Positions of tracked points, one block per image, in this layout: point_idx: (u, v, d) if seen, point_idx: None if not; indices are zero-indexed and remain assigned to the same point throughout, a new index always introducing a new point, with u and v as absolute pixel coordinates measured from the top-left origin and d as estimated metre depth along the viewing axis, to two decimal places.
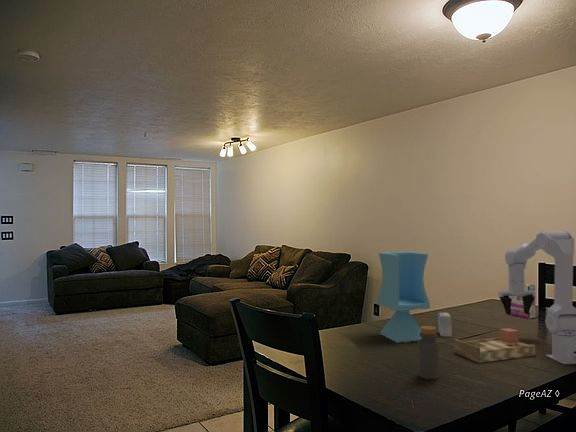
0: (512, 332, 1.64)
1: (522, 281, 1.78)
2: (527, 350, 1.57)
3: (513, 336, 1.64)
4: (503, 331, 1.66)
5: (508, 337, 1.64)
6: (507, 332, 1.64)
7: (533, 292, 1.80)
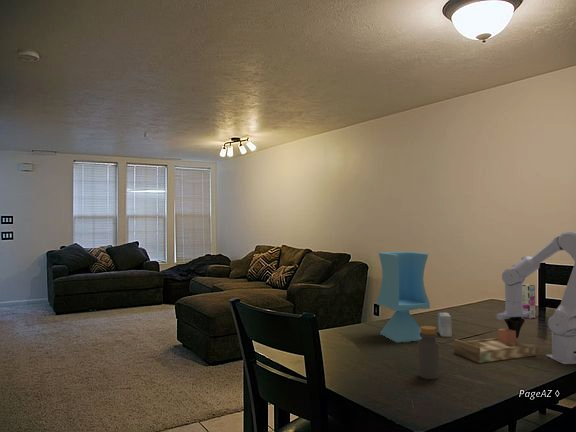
0: (510, 332, 1.64)
1: (521, 302, 1.65)
2: (527, 350, 1.57)
3: (510, 336, 1.64)
4: (501, 331, 1.66)
5: (506, 337, 1.63)
6: (505, 332, 1.64)
7: (529, 313, 1.68)
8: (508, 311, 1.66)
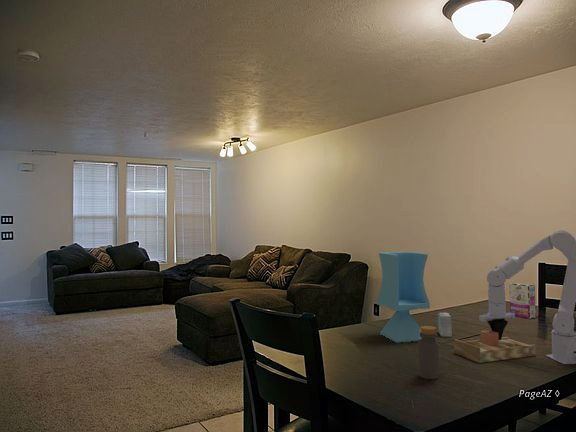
0: (492, 334, 1.61)
1: (504, 303, 1.62)
2: (527, 350, 1.57)
3: (493, 338, 1.61)
4: (483, 333, 1.63)
5: (488, 339, 1.61)
6: (487, 334, 1.61)
7: (512, 315, 1.65)
8: (491, 313, 1.63)
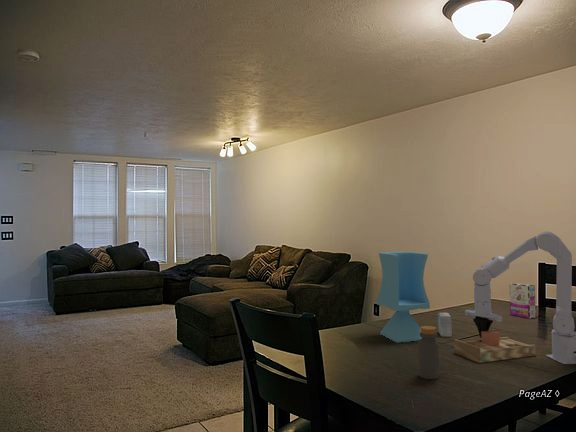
0: (493, 335, 1.60)
1: (479, 302, 1.65)
2: (527, 350, 1.57)
3: (494, 339, 1.60)
4: (484, 334, 1.62)
5: (489, 340, 1.60)
6: (488, 335, 1.61)
7: (495, 318, 1.60)
8: None
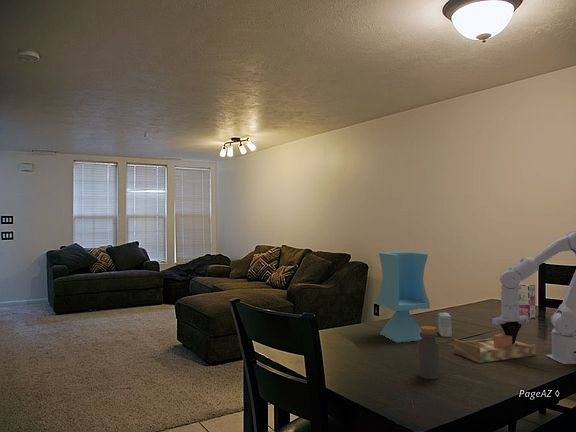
0: (507, 338, 1.55)
1: (518, 306, 1.57)
2: (527, 350, 1.57)
3: (507, 342, 1.55)
4: (497, 337, 1.57)
5: (503, 344, 1.55)
6: (502, 338, 1.55)
7: (526, 318, 1.60)
8: (504, 315, 1.58)
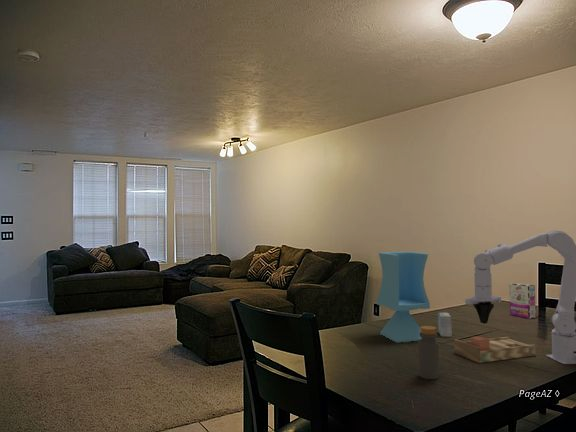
0: (483, 340, 1.53)
1: (490, 286, 1.62)
2: (527, 350, 1.57)
3: (483, 345, 1.53)
4: (473, 339, 1.55)
5: (478, 346, 1.52)
6: (477, 340, 1.53)
7: (499, 298, 1.65)
8: (477, 296, 1.63)
